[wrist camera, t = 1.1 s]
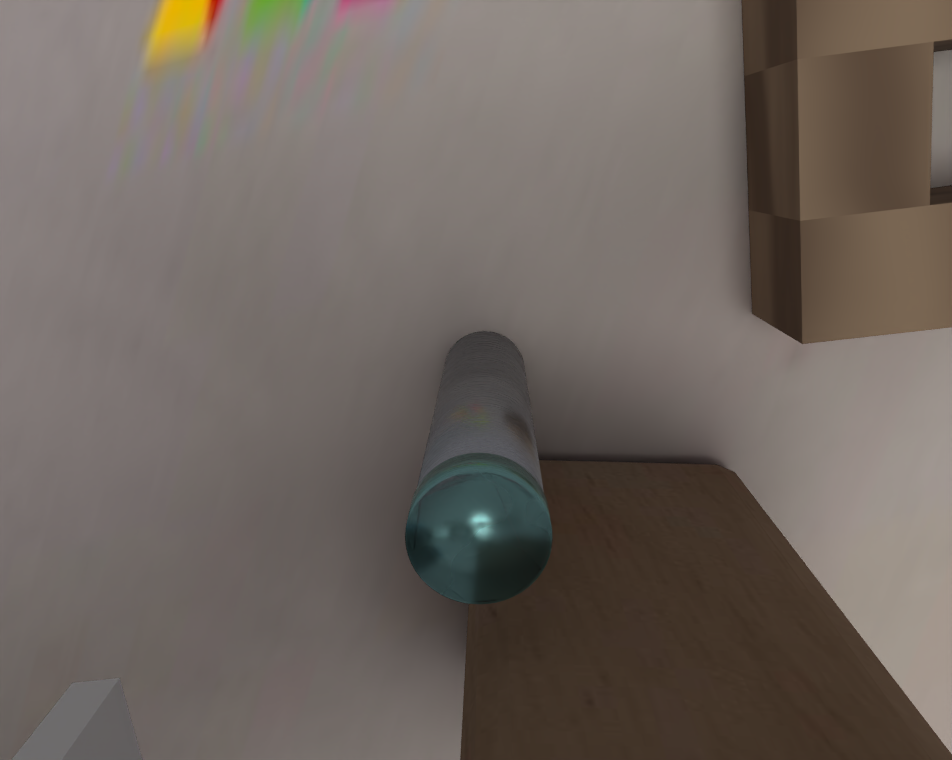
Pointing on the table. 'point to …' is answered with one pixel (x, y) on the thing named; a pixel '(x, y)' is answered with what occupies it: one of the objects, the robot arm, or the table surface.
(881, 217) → the socket block
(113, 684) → the robot arm
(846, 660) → the wooden block
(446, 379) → the peg
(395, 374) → the table surface
